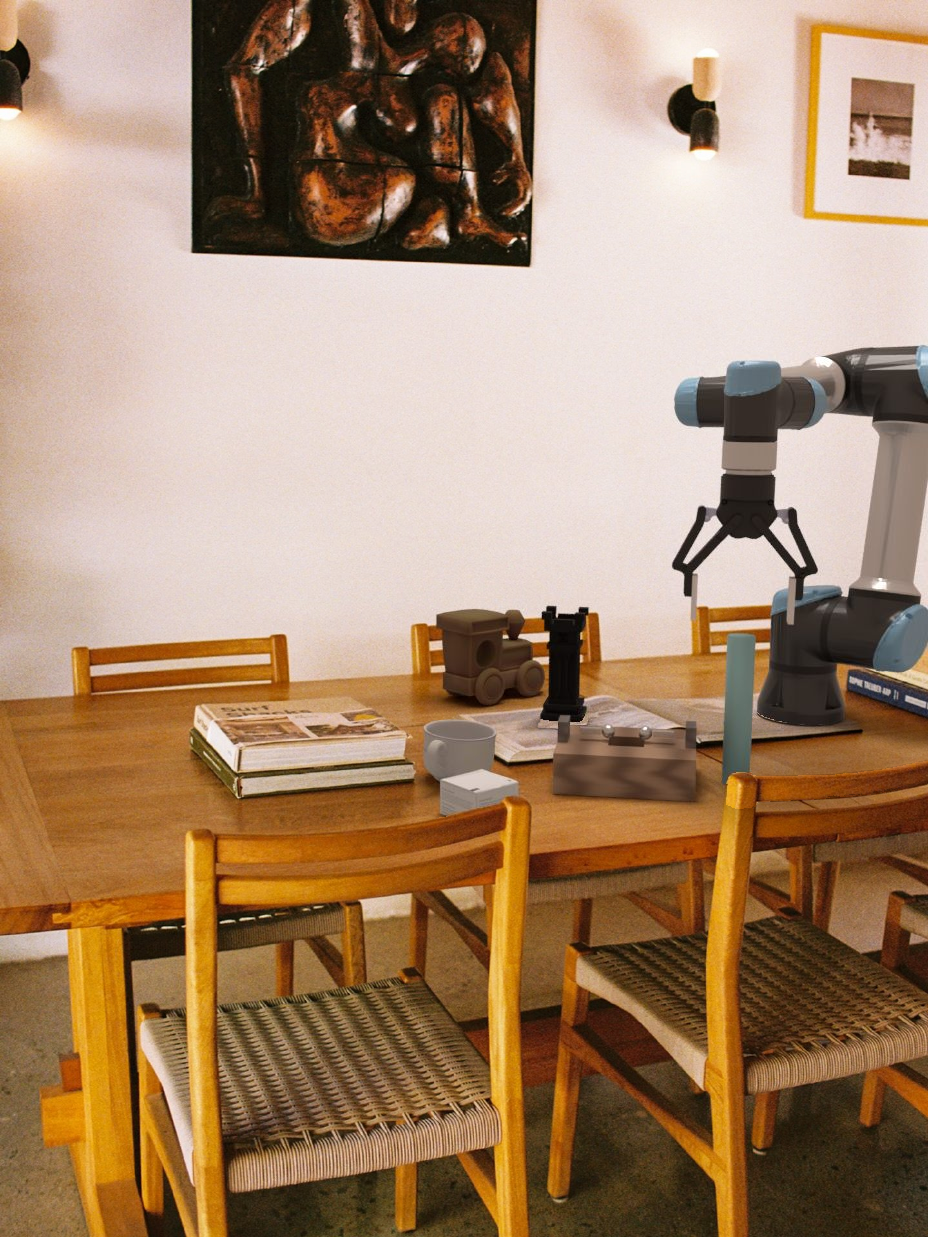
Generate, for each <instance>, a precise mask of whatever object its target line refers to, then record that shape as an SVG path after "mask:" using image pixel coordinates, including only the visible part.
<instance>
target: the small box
mask: <svg viewBox="0 0 928 1237" xmlns="http://www.w3.org/2000/svg"><path fill="white" fill-rule="evenodd" d="M519 784H520V783H519V781H518V780H515V779H512V778H510V777H507V776H503V775H500V774H498V773H495V772H491V771H490V772H489V771H486V770H483V769H480V770H477V771H473V772H470V773H465V774H461V775H457V776H453V777H449V778H445V779H441V780H440V781H439V787H440V788H439V795H440V796H439V807H440V808H439V810H440V812H439V813H440V815H442V816H445V815H450V814H454V813H459V812H462V811H468V810H471V809H476V808H483V807H487V806H492V805H495V804H499V803H500V802H501V801H502V800H503V799H504V798H505V797H507V796H518V797H519V795H520V794H519V793H520V792H519Z"/></svg>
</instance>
